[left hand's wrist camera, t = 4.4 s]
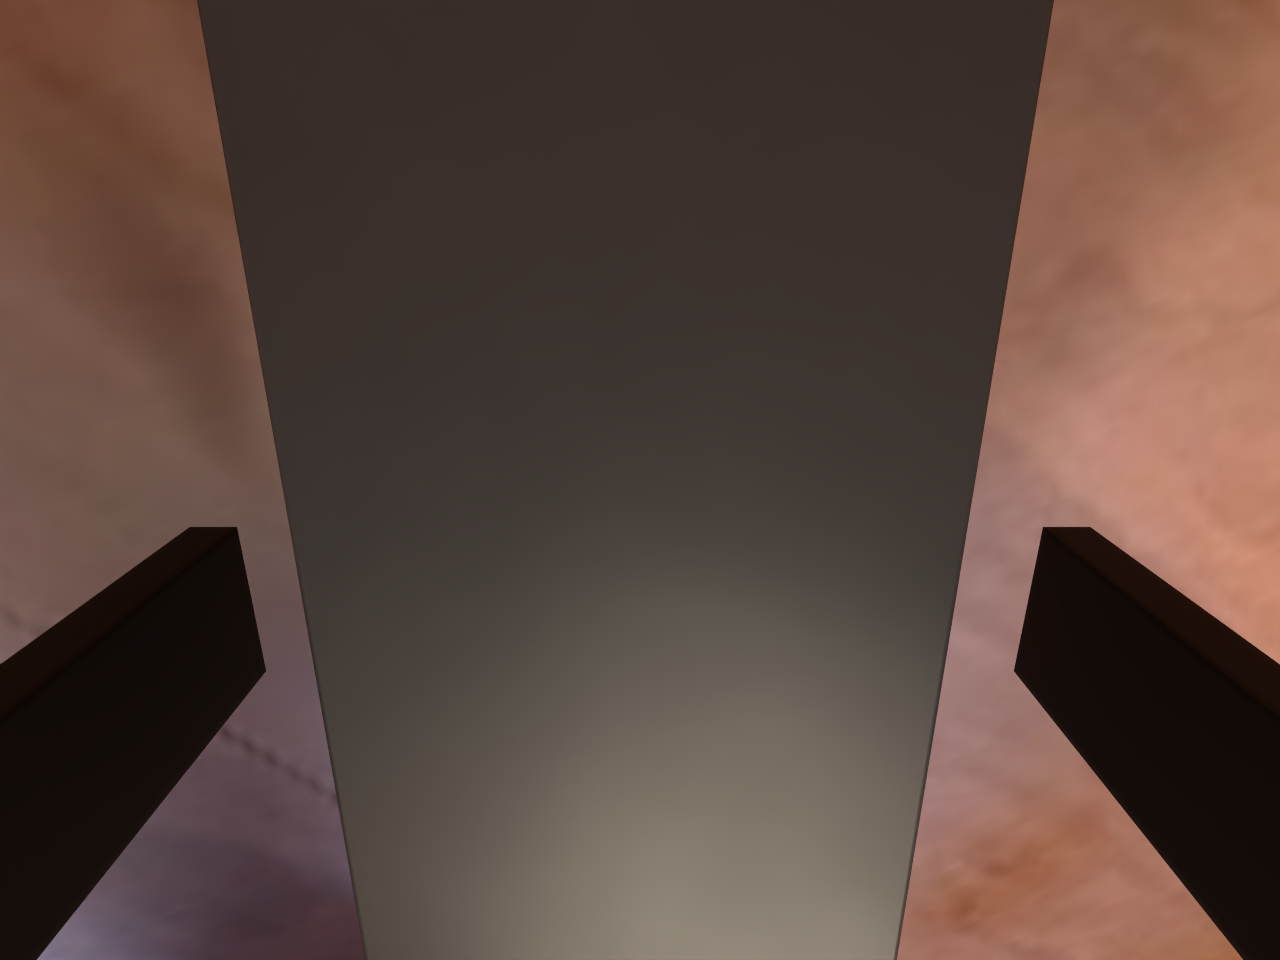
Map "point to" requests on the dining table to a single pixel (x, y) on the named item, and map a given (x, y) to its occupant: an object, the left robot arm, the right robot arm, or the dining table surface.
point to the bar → (628, 442)
